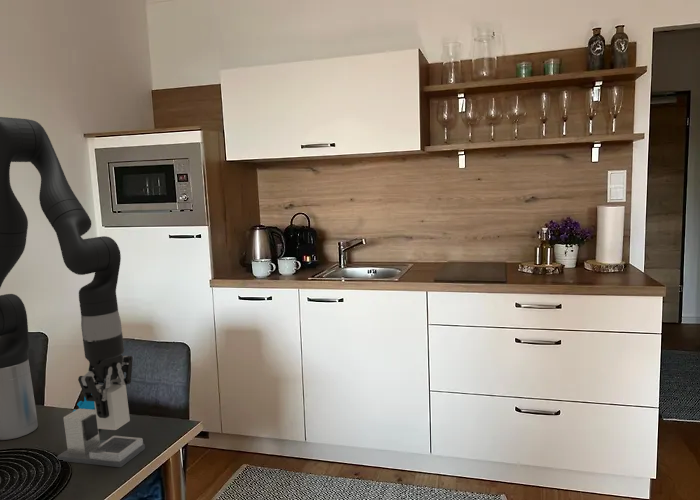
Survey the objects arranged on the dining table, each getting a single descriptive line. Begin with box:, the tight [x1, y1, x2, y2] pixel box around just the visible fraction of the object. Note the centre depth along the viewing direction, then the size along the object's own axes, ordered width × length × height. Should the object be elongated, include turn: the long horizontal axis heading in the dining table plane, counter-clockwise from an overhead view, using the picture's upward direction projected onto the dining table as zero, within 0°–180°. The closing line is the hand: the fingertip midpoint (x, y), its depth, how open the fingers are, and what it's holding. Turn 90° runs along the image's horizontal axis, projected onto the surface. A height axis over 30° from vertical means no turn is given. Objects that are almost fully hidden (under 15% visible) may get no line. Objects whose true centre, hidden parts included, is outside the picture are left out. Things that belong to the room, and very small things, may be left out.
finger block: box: [94, 383, 131, 431], centre depth 118 cm, size 4×5×8 cm
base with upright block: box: [56, 408, 146, 468], centre depth 119 cm, size 16×8×9 cm, turn 74°
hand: (112, 411), depth 118 cm, fingers closed on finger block, 4 cm apart
